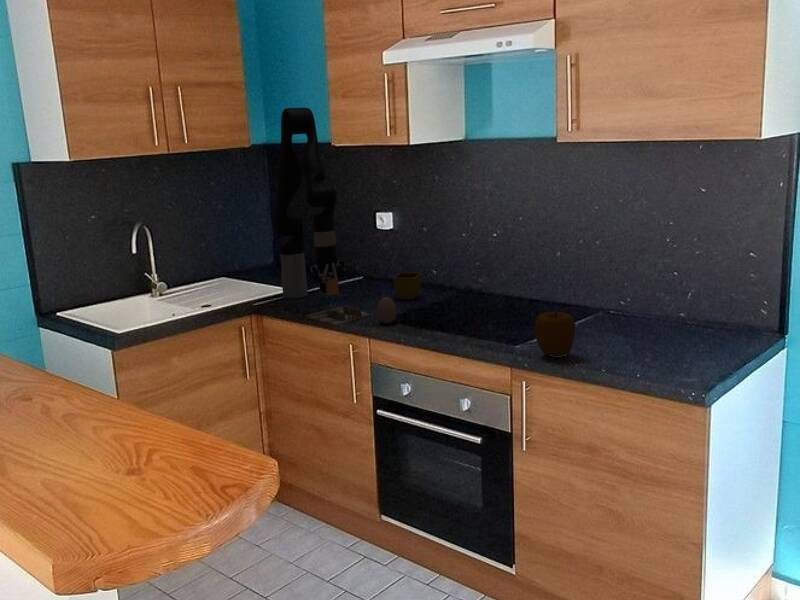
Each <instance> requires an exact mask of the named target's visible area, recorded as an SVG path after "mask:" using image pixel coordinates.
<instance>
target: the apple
mask: <svg viewBox="0 0 800 600" xmlns="http://www.w3.org/2000/svg"><path fill="white" fill-rule="evenodd" d="M575 334H576V322H575V318H574V316H573V315H572V314H570V313H566V312H561V311H548V312H543V313H541V314H539V315H538V316H537V318H536V321H535V323H534V336H535V340H536V343H537V344H538V347H539V349H540V351H541V353H542V354H543V353H544V354H543V355H545V354H547V355H553V356H561V355H565V354H568V355H570V352H571V350H572V348H573V347H572V346H574V345H573V344H574V341H575Z"/></svg>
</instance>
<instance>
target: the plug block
mask: <svg viewBox="0 0 800 600" xmlns="http://www.w3.org/2000/svg"><path fill="white" fill-rule="evenodd" d="M325 284H326V293H325V294H323V293H321V292H320V285H319V284H318V287H319V294H321V295H326V296H333V295H339V294H340V291H339V279H335V278H332V277H330V276H326V278H325Z"/></svg>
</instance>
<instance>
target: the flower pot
mask: <svg viewBox="0 0 800 600" xmlns="http://www.w3.org/2000/svg"><path fill="white" fill-rule="evenodd" d="M392 281H393V282H392V283H393V286H394V291H395V293H396V295H397V297H398V299H400V300H401V301H402V300H406V301H407V300H410V301H412V300H414V299H416V298H417V297H418V295H419V293H420V290H421V286H422V285H421V284H422V272H399V273H397V274H396V275H395V276H393V277H392Z"/></svg>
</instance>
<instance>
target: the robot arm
mask: <svg viewBox="0 0 800 600" xmlns="http://www.w3.org/2000/svg"><path fill="white" fill-rule="evenodd" d="M280 117H281V118H280V119H281V120H280V154H279V165H278V175H277V192H276V193H277V195H276V202H275V208H274V213H273V222H272V226H273V232H274V234H275V235H276V236H277V237H282V238H283V237H291V238H290V239H289V240H288V241H287V242H286V243H284V244H282V245H281V246H280V247H279V255H280V266H281V273H280V275H281V277H280V278H281V288H282V295H283V298H285V299H300V298H301V299H302V298H305V297H307V296H308V283H307V273H306V271H307V270H306V260H305V250H304V249H305V239H304V238H305V237H304V232H305V231H304V230H305V229H304V217H303V215H302V213H301V212H300V211H298V210H292V211H290V210H289V211H288V208H289V206H290V205H291V202H292V201H293V199H294V198H295V197H296V196H297V194H298V192H299V191H300V190H301V188H302V186H303V183H304V178H305V187H306V189H305V201H306V203H307V205H308V206H309V207H311V208H322V207H324V210H323V211H322V212H319V213H317V214H316V213H315V215H313V217H312V222H313V244H314V245H313V246H314V255H315V259H316V260H315V264H313V265H310V266H308V267H309V268H308V270H309V273H310V274H311V277H312V279H313V282H315V283H318V286H319V285H320V290H319V293H320V292H321V293H323V294H322V295H325V293H326V284H325V278H326V277H328V275H329V277H332V278H335V279H338V280H339V279H340V278H342V277H343V272H344V265H345V261H343V260H338V259H337V255H338V252H337V241H336V238H337V237H336V233H335V223H334V219H335V218H334V216H335V209H336V204H337V198H338V193H337V191H336V189H335V187H334V186H333V185H320V186H319V184H322V183H323V182H325V180H326V177H327V176H326V172H325V168H324V165H323V163H322V158H321V154H320V148H319V141H318V133H317V127H316V121H315V117H314V113H313V111H312V110H311V109H310V108H308V107H287V108H284V109H283V110H282V114H281V116H280ZM293 135H306V140H307V141H306V146H305V147H304V151H303V154H302V155H301V157H300V156H299V154H298V153H297V151H296V149H295V147H294V144H293ZM317 185H318V186H317Z"/></svg>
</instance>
